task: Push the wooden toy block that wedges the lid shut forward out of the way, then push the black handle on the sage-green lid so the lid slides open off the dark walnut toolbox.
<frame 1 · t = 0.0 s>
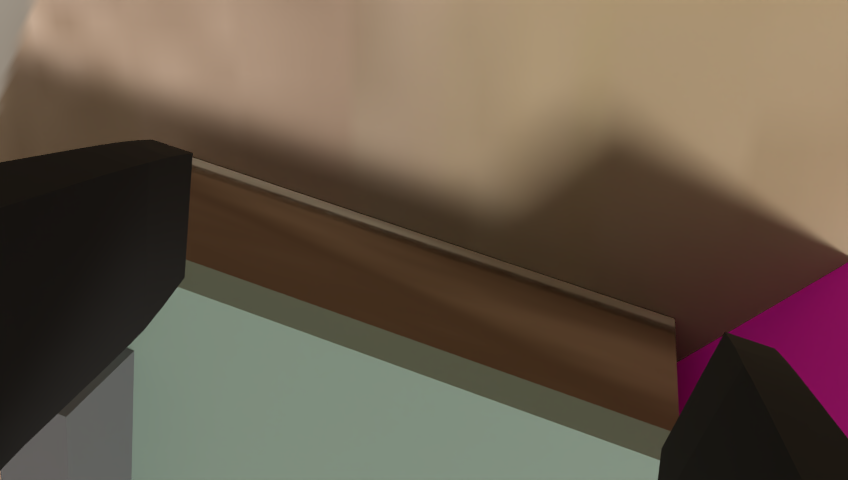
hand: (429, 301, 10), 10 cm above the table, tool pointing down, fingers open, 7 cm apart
toolbox: (377, 387, 24), on the table
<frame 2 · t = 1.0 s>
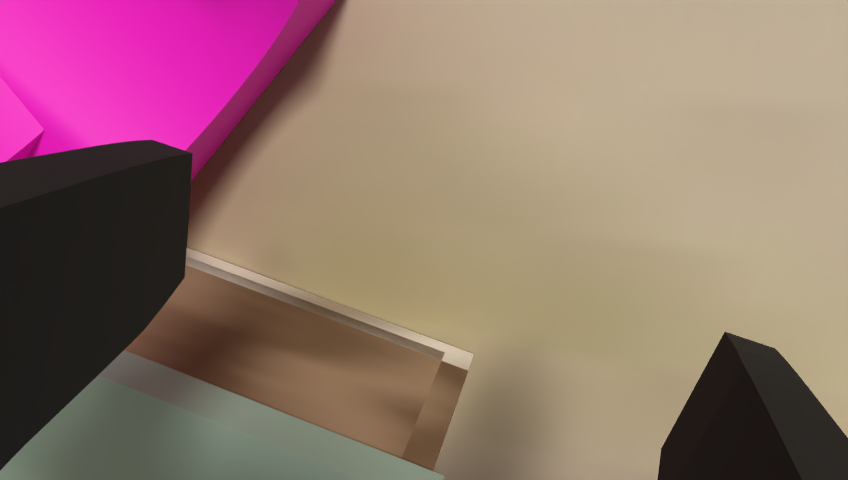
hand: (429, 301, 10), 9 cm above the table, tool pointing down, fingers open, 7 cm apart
toolbox: (256, 454, 26), on the table
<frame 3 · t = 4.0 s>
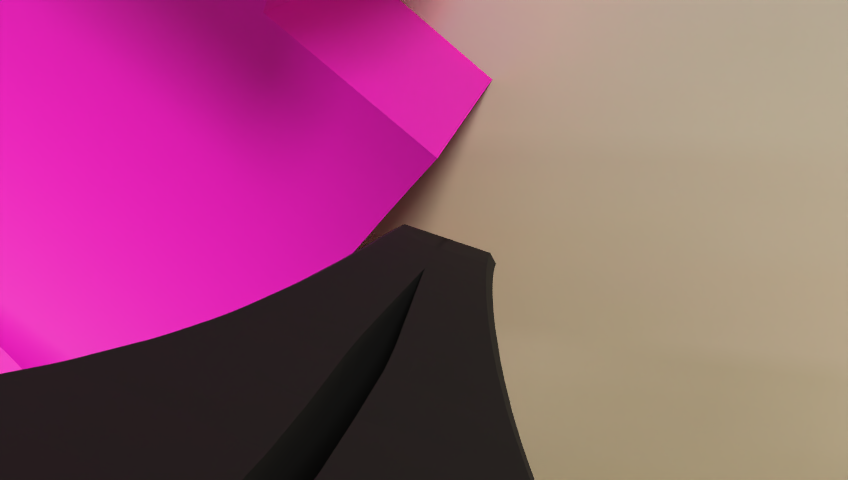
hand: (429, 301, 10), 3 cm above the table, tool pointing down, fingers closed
toy block: (253, 76, 13), on the table, touching gripper
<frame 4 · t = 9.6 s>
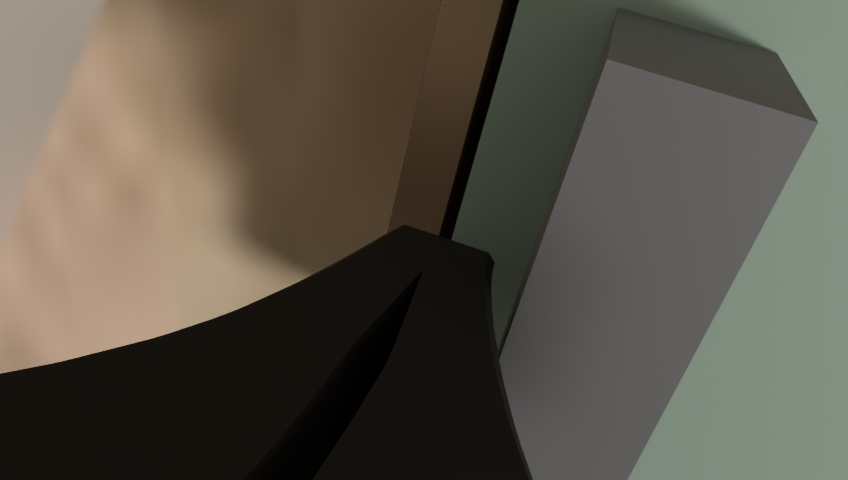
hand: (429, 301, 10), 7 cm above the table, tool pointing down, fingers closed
toolbox: (816, 223, 15), on the table
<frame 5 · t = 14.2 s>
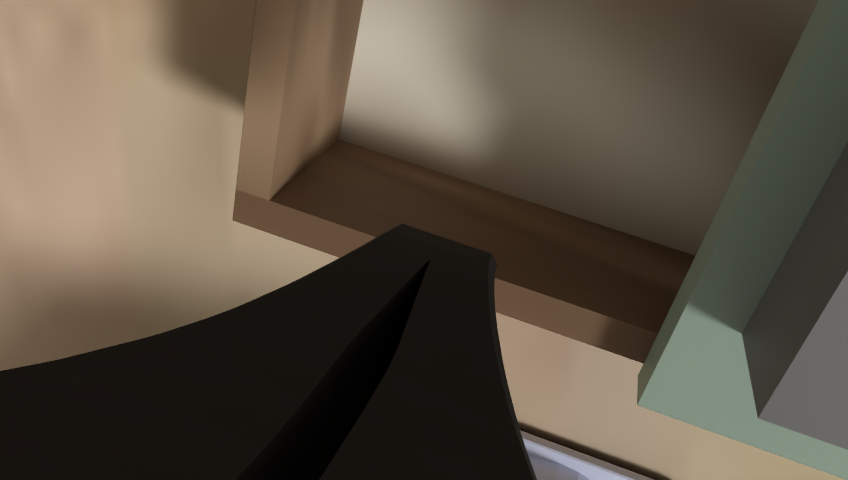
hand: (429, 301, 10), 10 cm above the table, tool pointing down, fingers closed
toolbox: (656, 11, 17), on the table
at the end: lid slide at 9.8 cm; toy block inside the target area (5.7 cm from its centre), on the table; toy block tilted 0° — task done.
